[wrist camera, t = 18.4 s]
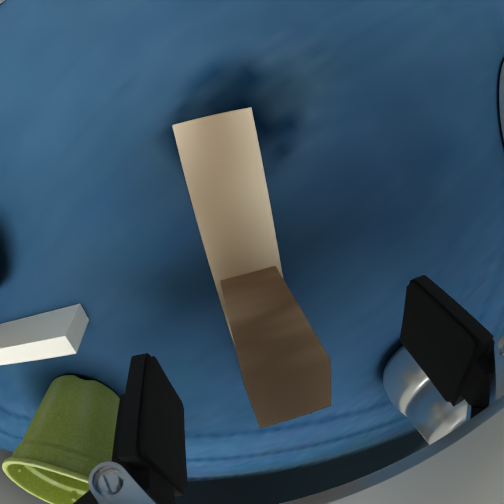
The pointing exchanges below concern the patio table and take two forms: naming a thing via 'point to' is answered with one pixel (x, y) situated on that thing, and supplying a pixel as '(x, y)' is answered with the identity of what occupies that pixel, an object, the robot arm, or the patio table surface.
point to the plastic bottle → (420, 398)
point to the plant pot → (65, 440)
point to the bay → (42, 334)
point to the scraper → (251, 268)
